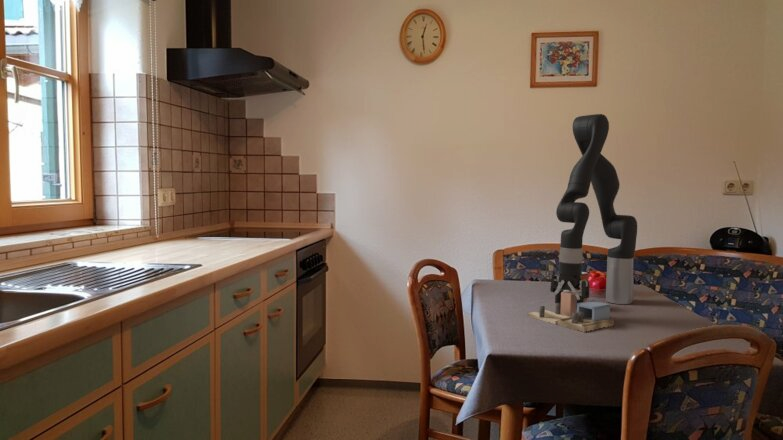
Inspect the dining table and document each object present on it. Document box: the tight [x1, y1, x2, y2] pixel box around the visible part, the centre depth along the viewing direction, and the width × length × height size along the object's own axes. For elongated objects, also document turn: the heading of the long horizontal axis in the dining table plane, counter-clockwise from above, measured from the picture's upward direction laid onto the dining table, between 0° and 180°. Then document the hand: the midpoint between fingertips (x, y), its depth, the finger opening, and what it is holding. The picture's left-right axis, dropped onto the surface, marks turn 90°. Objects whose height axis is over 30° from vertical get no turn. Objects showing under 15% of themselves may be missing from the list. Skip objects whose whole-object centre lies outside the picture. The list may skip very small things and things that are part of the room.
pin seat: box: [526, 303, 570, 325], centre depth 186 cm, size 10×12×4 cm
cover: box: [577, 300, 611, 322], centre depth 180 cm, size 8×7×5 cm
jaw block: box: [560, 291, 577, 317], centre depth 190 cm, size 4×4×8 cm
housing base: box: [557, 312, 615, 333], centre depth 178 cm, size 15×10×4 cm, turn 124°
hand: (568, 307), depth 190 cm, fingers open, 8 cm apart
